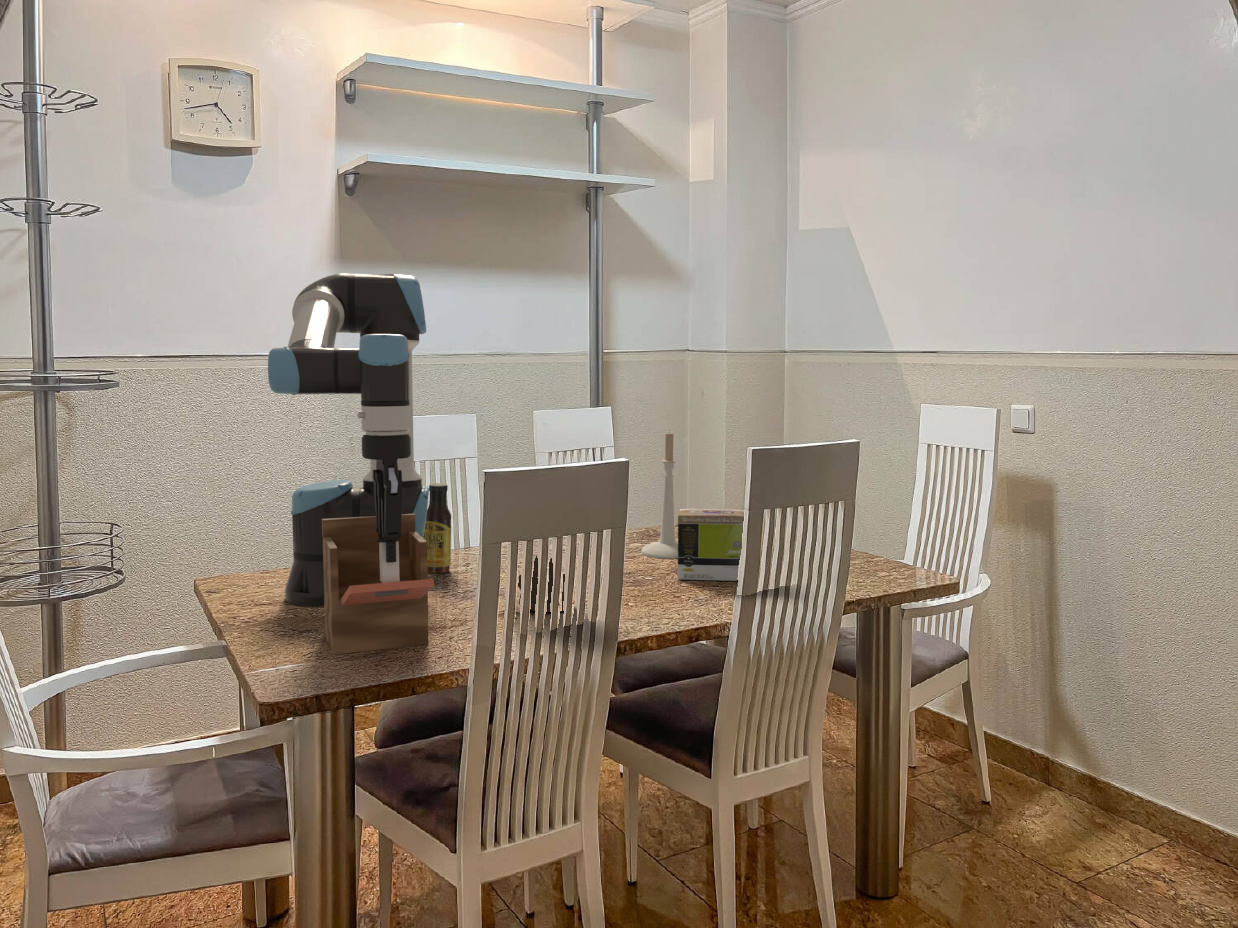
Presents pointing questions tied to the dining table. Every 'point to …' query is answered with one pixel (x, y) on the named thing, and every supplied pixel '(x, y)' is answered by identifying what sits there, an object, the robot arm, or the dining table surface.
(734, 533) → the tea box
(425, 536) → the sauce bottle
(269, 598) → the dining table surface
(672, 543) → the candlestick
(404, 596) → the panel
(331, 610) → the wooden box
